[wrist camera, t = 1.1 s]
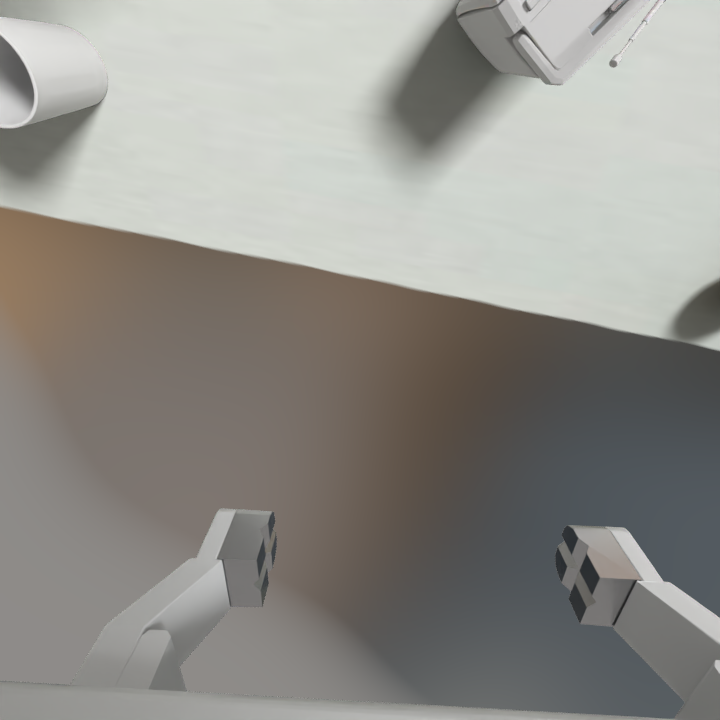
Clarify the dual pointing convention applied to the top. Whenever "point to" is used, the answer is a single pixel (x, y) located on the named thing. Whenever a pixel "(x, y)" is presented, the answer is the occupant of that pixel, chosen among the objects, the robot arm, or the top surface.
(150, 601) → the robot arm
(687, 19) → the top surface
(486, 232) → the top surface
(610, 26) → the stereo radio cassette player
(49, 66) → the mug
